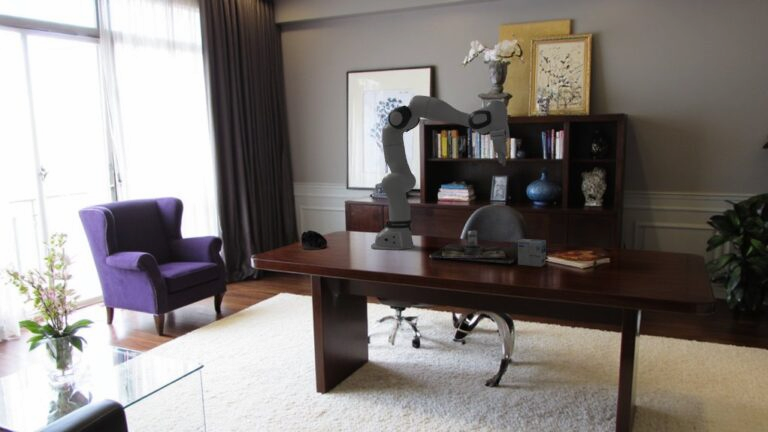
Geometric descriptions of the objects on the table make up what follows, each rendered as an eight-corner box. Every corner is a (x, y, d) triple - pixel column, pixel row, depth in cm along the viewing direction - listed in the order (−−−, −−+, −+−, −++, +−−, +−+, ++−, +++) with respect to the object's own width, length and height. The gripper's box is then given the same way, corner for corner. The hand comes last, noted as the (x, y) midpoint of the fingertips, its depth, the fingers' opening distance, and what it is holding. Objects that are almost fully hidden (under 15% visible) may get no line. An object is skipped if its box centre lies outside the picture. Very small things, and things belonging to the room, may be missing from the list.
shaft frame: (442, 258, 260) (441, 247, 260) (442, 254, 270) (442, 243, 270) (505, 258, 257) (505, 247, 256) (503, 254, 266) (503, 243, 266)
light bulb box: (546, 264, 244) (546, 239, 243) (541, 267, 239) (541, 242, 237) (522, 261, 250) (522, 238, 249) (517, 264, 245) (517, 240, 243)
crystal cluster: (332, 248, 296) (331, 229, 296) (313, 250, 286) (312, 231, 286) (315, 247, 305) (315, 229, 305) (296, 249, 295) (295, 230, 295)
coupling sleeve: (467, 251, 274) (467, 231, 273) (467, 250, 279) (467, 230, 277) (477, 252, 274) (477, 231, 272) (476, 250, 278) (476, 230, 277)
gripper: (496, 139, 271) (498, 167, 270) (489, 132, 252) (492, 162, 251) (509, 137, 269) (512, 166, 268) (503, 130, 250) (506, 160, 249)
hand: (502, 164), depth 259 cm, fingers open, 8 cm apart
